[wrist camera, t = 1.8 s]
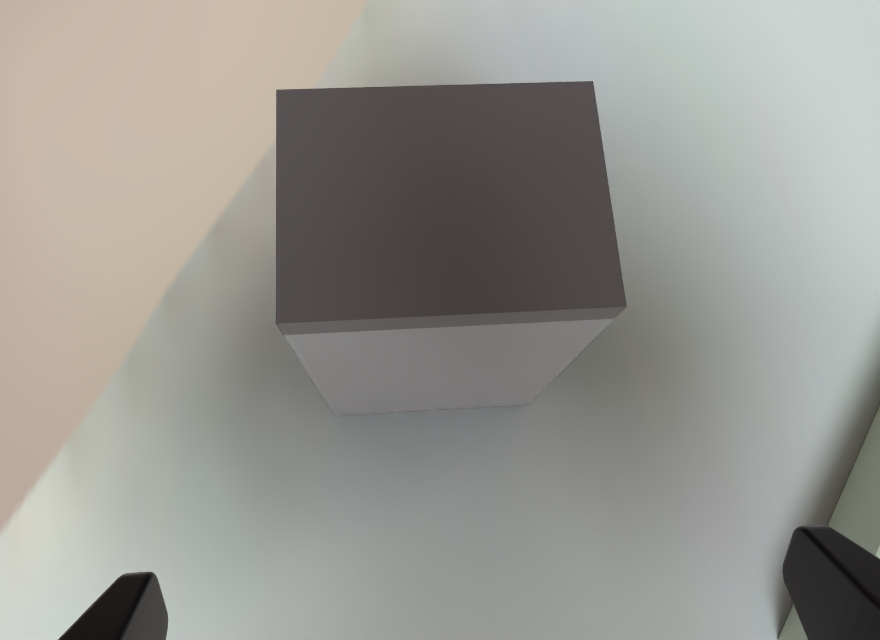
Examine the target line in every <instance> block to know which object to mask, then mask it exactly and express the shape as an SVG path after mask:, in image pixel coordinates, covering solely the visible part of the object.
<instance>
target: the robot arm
mask: <svg viewBox="0 0 880 640" xmlns="http://www.w3.org/2000/svg"><path fill="white" fill-rule="evenodd" d="M782 572H783V579H784V582H785V585H786V588H787V590H788V593H789V595H790V598H791V600H792V602H793V605H794V607H795V610H796V612H797V615H798V617H799V620H800V622H801V624H802V627H803V629H804V632H805V634H806V637H807V639H808V640H880V558H878V557H877V556H875V555H873V554H872V553H870V552H869V551H867V550H866V549H864V548H863V547H861V546H859V545H858V544H856V543H855V542H853V541H852V540H850V539H849V538H847V537H845V536H844V535H842V534H841V533H839V532H838V531H836V530H835V529H833V528H831V527H829V526H827V525H808V526H800V527H798V528H796V529H795V530H794V532H793V535H792V538H791V541H790V544H789V547H788V550H787V554H786V557H785V560H784V563H783V571H782ZM167 629H168V613H167V609H166V606H165V602H164V599H163V595H162V592H161V589H160V585H159V582H158V579H157V577H156V575H155V574H154V573H153V572H138V573H126V574H123V575H122V576H120V577H119V578H118V579H117V580H116V581H115V582H114V583H113V584H112V585H111V586H110V587H109V588H108V589H107V590H106V591H105V592H104V593H103V594H102V595H101V596H100V597H99V598H98V599H97V600H96V601H95V602H94V603H93V604H92V605H91V606H90V607H89V608H88V609H87V610H86V611H85V612H84V613H83V615H82V616H81V617H80V618H79V619H78V620H77V621H76V622H75V623H74V624H73V625H72V626H71V627H70V628H69V629H68V630H67V631H66V632H65V633H64V634H63V635H62V636H61V637H60V638H59V639H58V640H166V635H167Z"/></svg>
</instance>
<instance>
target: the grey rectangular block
mask: <svg viewBox="0 0 880 640" xmlns="http://www.w3.org/2000/svg"><path fill="white" fill-rule="evenodd" d="M276 92H277V93H276V96H277V99H276V100H277V103H276V104H277V106H276V110H277V111H276V125H277V126H276V324H277V326H278V327H279V329H280V331H281V332H282V334H283V335H284V337H285V339H286V340H287V342H288V343H289V345H290V346H291V348H292V350H293V351H294V353H295V354H296V356H297V358H298V359H299V361H300V362H301V364H302V365H303V367H304V369H305V370H306V372H307V373H308V375H309V377H310V378H311V380H312V381H313V383H314V384H315V386H316V388H317V389H318V391H319V392H320V394H321V396H322V397H323V399H324V400H325V402H326V403H327V405H328V407H329V408H330V410H331V411H332V413H333V415H334V416H339V415H357V414H374V413H391V412H409V411H426V410H444V409H461V408H478V407H496V406H513V405H528V404H529V403H530V402H531V401H532V400H533V399H534V398H536V397H537V396H538V395H539V394H540V393H541V392H542V391H543V390H544V389H545V388H546V387H547V386H548V385H549V384H550V383H551V382H552V381H553V380H554V379H555V378H556V377H557V376H558V375H559V374H560V373H561V372H562V371H563V370H564V369H565V368H566V367H567V366H568V365H569V364H570V363H571V362H572V361H573V360H574V359H575V358H576V357H577V356H578V355H579V354H580V353H581V352H582V351H583V350H584V349H585V348H586V347H587V346H588V345H589V344H590V343H591V342H592V341H593V340H594V339H595V338H596V337H597V336H598V335H599V334H600V333H601V332H602V331H603V330H604V329H605V328H606V327H607V326H608V325H609V324H610V323H611V322H612V321H613V320H614V319H615V318H616V317H617V316H618V315H619V314H620V313H621V312H622V311H623V310H624V309H625V308H626V300H625V293H624V287H623V280H622V273H621V267H620V260H619V253H618V246H617V240H616V233H615V226H614V219H613V213H612V206H611V199H610V193H609V186H608V179H607V172H606V166H605V159H604V152H603V145H602V139H601V132H600V125H599V119H598V112H597V105H596V98H595V92H594V85H593V81H585V82H548V83H511V84H474V85H437V86H400V87H363V88H326V89H291V90H290V89H289V90H277V91H276Z"/></svg>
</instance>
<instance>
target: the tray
mask: <svg viewBox="0 0 880 640" xmlns="http://www.w3.org/2000/svg"><path fill="white" fill-rule="evenodd" d="M828 526H829V527H831V528H833V529H835V530H836V531H838V532H839V533H841V534H842V535H844V536H845V537H847V538H849V539H850V540H852V541H853V542H855V543H856V544H858V545H859V546H861V547H863V548H864V549H866V550H867V551H869V552H870V553H872V554H873V555H875V556H877V557H878V558H880V406H879V409H878V411H877V413H876V416H875V418H874V420H873V423H872V425H871V427H870V429H869V432H868V434H867V436H866V439H865V441H864V443H863V446H862V448H861V450H860V452H859V455H858V457H857V459H856V462H855V464H854V466H853V469H852V471H851V473H850V475H849V478H848V480H847V482H846V485H845V487H844V489H843V491H842V494H841V496H840V498H839V501H838V503H837V505H836V508H835V510H834V512H833V514H832V517H831V519H830V521H829V524H828ZM778 640H808V639H807V637H806V634H805V632H804V629H803V627H802V624H801V622H800V620H799V617H798V615H797V612H796V610H795V607H794V605H793V606H792V609H791V611H790V613H789V616H788V618H787V620H786V622H785V625H784V627H783V629H782V632H781V634H780V636H779V638H778Z"/></svg>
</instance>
